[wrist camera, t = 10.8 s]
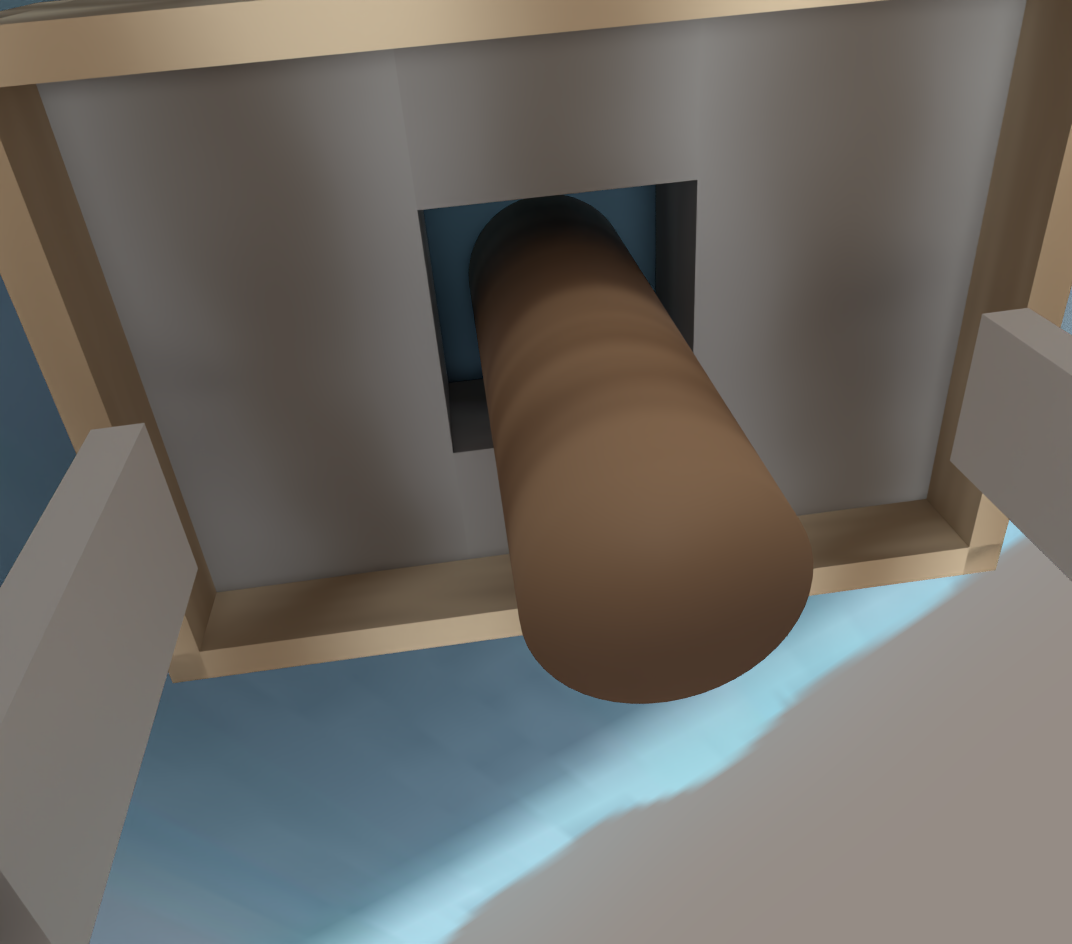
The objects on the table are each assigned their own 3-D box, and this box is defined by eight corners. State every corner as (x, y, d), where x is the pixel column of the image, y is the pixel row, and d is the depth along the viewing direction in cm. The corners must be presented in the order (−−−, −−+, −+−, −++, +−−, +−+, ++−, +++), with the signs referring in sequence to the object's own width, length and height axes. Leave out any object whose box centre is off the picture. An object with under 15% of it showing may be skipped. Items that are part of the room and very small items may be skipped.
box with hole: (219, 536, 24) (173, 683, 19) (38, 2, 17) (-102, 34, 12) (889, 450, 25) (995, 569, 21) (978, -86, 18) (1170, -86, 14)
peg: (459, 203, 20) (503, 493, 10) (622, 185, 20) (828, 451, 10) (478, 354, 22) (531, 721, 12) (626, 336, 22) (800, 682, 12)
